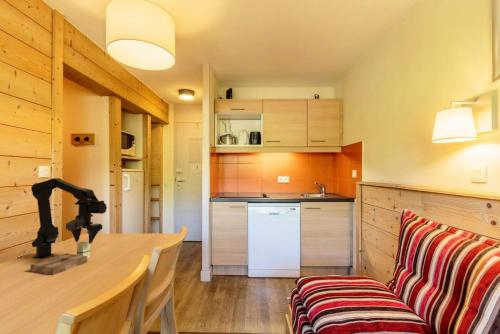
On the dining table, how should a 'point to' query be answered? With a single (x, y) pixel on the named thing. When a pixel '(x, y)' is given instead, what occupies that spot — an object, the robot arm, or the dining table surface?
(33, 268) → the board
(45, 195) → the robot arm
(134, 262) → the dining table surface
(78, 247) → the peg
